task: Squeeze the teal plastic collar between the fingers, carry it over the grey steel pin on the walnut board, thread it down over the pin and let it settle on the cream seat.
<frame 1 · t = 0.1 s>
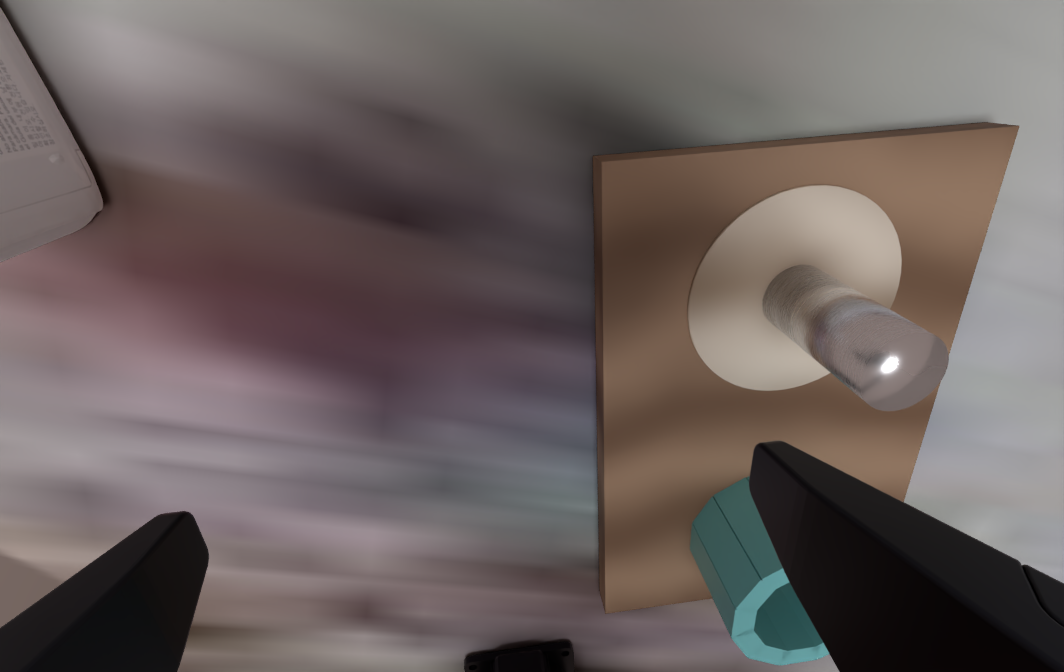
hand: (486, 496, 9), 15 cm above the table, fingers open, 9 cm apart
base board: (758, 397, 27), on the table
collar: (756, 527, 29), point 1 cm above the table, touching base board
steel pin: (774, 282, 24), resting on base board
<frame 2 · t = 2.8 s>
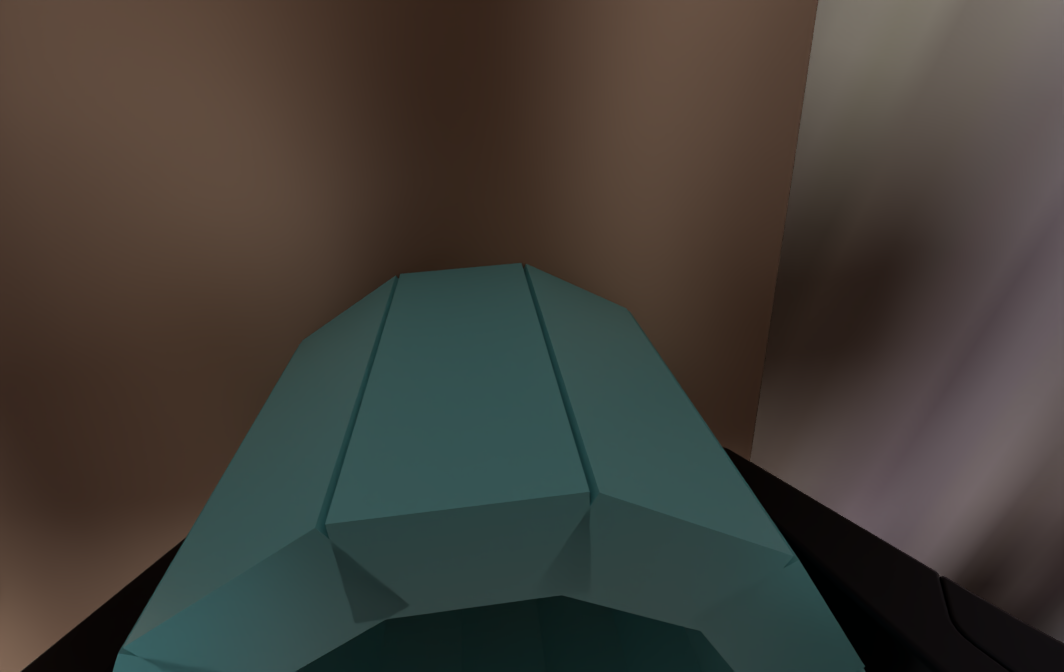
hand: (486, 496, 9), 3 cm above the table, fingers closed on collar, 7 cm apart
base board: (116, 449, 11), on the table
collar: (483, 455, 10), point 1 cm above the table, touching base board, gripper
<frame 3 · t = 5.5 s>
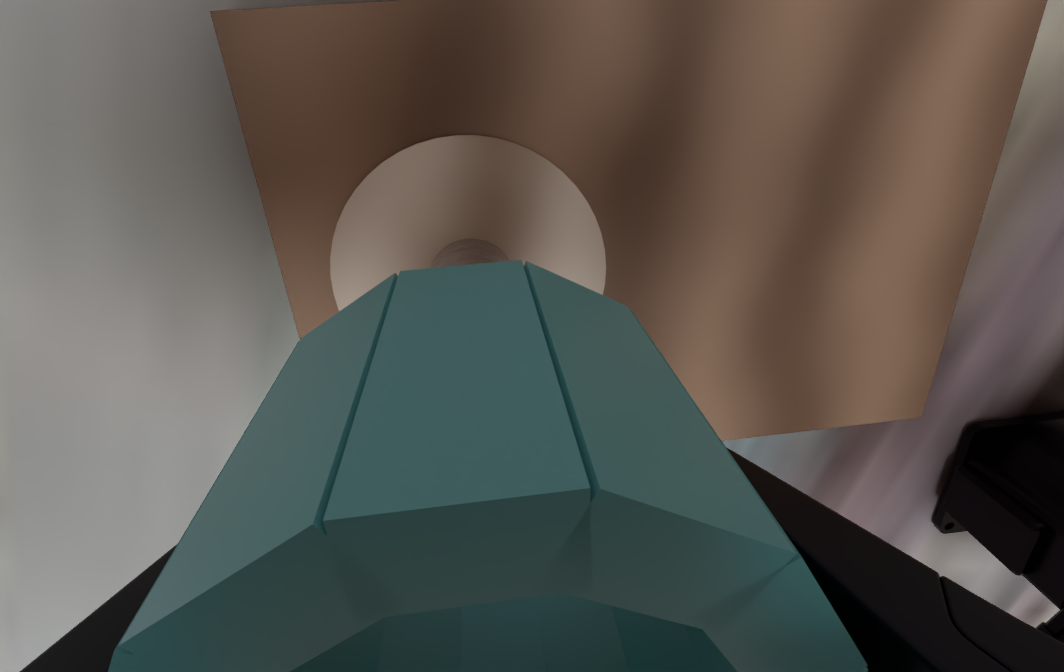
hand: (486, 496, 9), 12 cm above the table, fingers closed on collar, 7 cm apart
base board: (635, 248, 20), on the table
collar: (483, 454, 10), point 11 cm above the table, touching gripper
steel pin: (471, 263, 20), resting on base board
when the fingers open (4 cm above the table, at t = 8.3 s): collar drops 1 cm, resting on base board.
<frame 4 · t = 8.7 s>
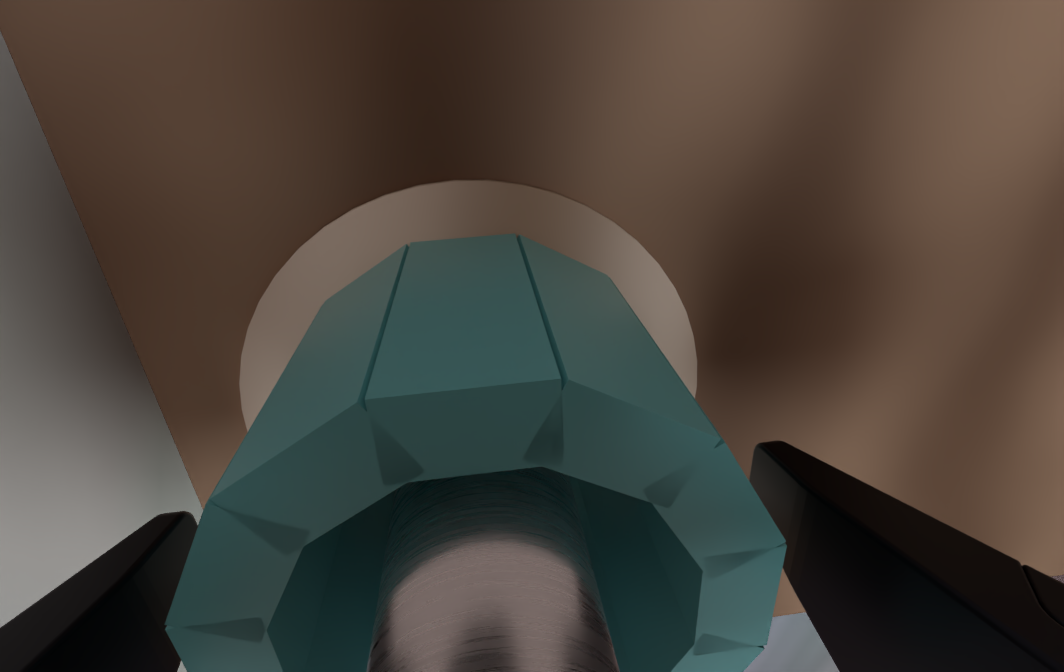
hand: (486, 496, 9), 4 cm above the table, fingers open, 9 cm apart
base board: (731, 342, 13), on the table
collar: (482, 407, 11), point 2 cm above the table, touching base board
steel pin: (477, 368, 13), resting on base board
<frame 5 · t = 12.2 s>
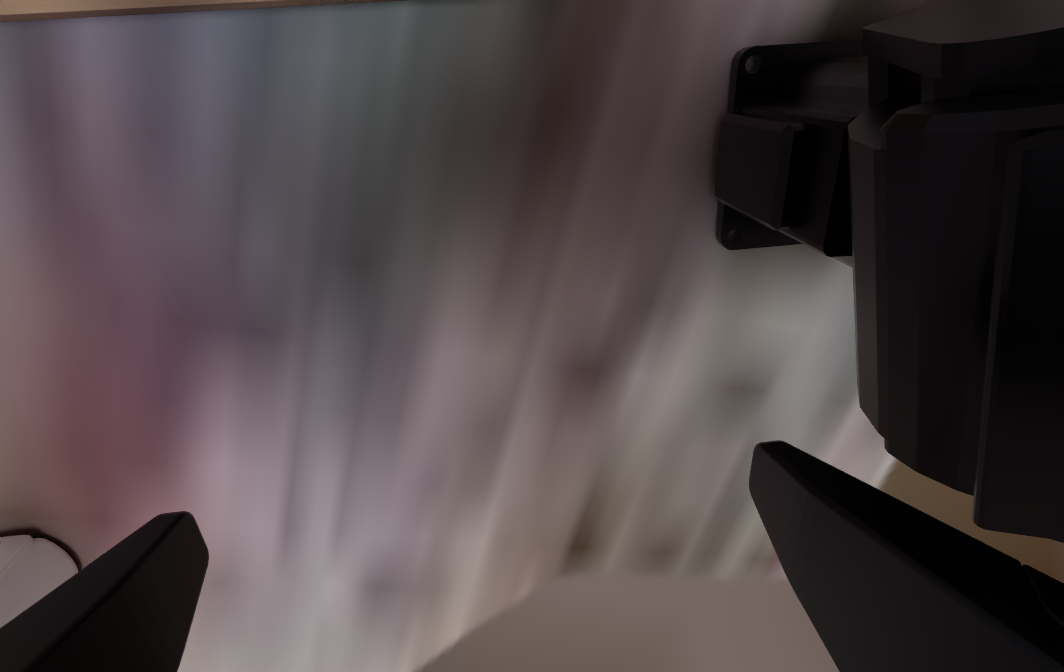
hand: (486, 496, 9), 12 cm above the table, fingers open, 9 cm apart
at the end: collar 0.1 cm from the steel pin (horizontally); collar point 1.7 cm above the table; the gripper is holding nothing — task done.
